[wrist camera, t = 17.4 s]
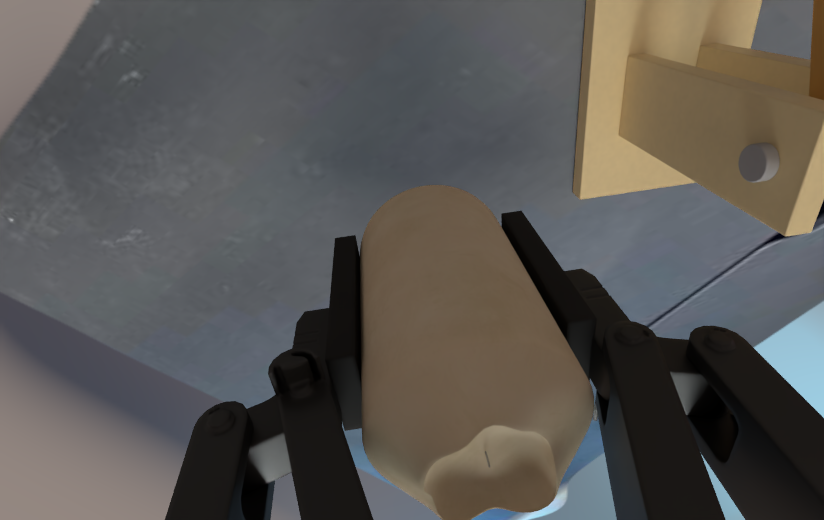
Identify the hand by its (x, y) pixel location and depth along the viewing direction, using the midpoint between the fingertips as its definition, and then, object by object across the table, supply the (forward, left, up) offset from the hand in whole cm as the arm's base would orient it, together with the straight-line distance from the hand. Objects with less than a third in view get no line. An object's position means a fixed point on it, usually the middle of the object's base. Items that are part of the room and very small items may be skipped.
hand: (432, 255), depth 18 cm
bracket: (-2, +15, -12) cm, 19 cm away
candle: (0, 0, -1) cm, 1 cm away
